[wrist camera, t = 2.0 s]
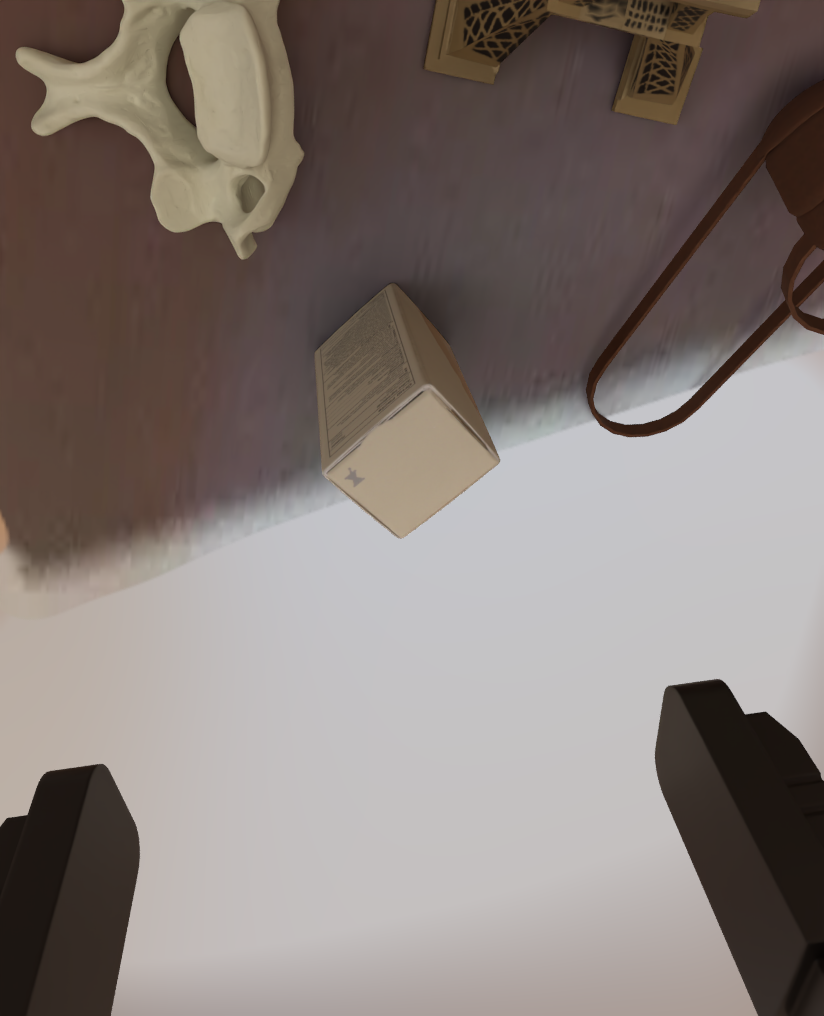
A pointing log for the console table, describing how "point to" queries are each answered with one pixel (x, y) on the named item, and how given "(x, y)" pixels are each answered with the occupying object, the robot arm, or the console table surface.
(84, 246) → the console table surface
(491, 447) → the box
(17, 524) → the console table surface
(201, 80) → the bone
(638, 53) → the eiffel tower
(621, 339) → the brown looped piece
